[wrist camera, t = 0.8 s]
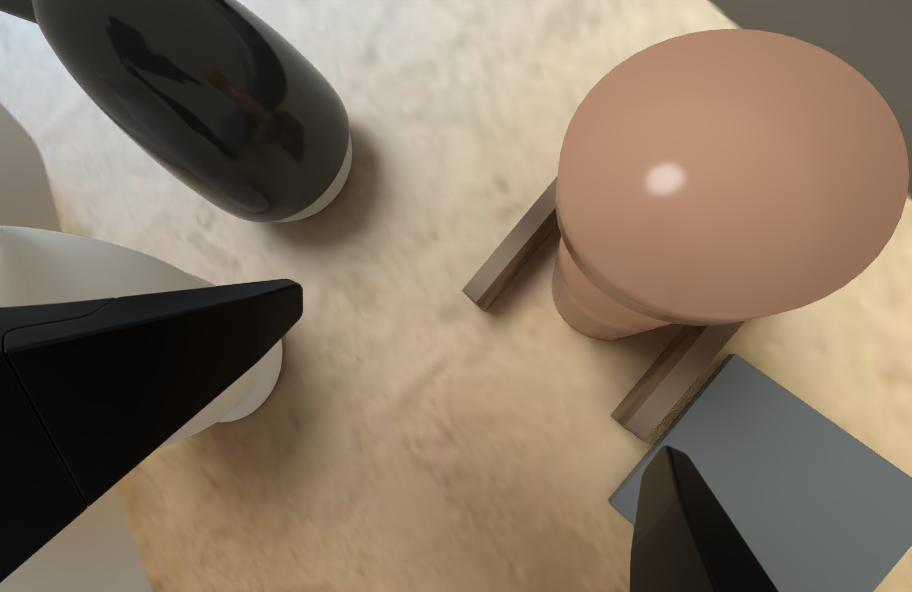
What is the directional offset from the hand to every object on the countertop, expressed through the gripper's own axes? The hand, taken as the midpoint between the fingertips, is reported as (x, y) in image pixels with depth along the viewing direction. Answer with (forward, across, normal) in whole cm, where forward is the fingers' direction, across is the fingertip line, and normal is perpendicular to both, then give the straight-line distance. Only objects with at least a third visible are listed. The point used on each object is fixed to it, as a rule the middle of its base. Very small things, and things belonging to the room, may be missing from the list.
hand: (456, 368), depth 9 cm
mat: (+11, -14, +9) cm, 20 cm away
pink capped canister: (+15, -4, +3) cm, 16 cm away
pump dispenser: (+16, +18, +3) cm, 24 cm away
